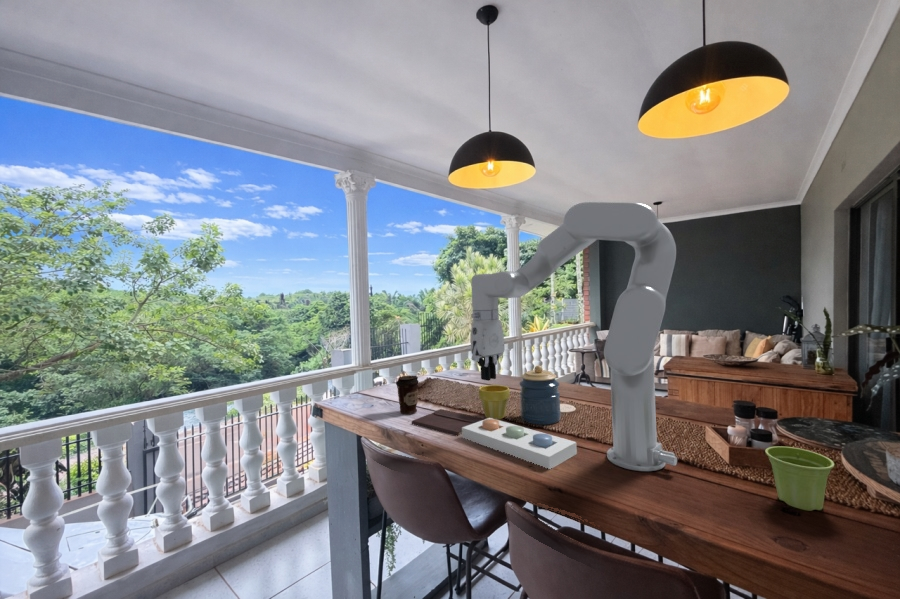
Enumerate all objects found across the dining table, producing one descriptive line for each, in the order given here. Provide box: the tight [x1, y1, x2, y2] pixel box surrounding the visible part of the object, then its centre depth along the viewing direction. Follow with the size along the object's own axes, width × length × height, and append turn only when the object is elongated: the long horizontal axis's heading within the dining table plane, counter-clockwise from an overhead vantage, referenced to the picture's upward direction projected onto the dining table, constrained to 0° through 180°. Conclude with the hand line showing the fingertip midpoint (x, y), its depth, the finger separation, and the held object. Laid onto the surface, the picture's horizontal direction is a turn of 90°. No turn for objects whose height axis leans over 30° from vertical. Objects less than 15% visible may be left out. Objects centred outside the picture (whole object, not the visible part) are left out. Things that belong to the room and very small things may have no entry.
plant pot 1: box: [478, 384, 510, 420], centre depth 128 cm, size 10×10×10 cm
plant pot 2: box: [764, 445, 835, 511], centre depth 70 cm, size 9×9×9 cm
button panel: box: [461, 418, 578, 470], centre depth 103 cm, size 30×12×3 cm, turn 41°
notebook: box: [411, 408, 487, 437], centre depth 124 cm, size 15×20×2 cm
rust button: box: [482, 418, 499, 432], centre depth 109 cm, size 5×5×3 cm
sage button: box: [506, 425, 525, 440], centre depth 103 cm, size 5×5×3 cm
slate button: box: [533, 433, 552, 449], centre depth 96 cm, size 5×5×3 cm
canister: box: [518, 365, 562, 425], centre depth 124 cm, size 13×13×18 cm
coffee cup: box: [395, 374, 419, 415], centre depth 138 cm, size 9×8×13 cm
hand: (488, 378), depth 109 cm, fingers closed
